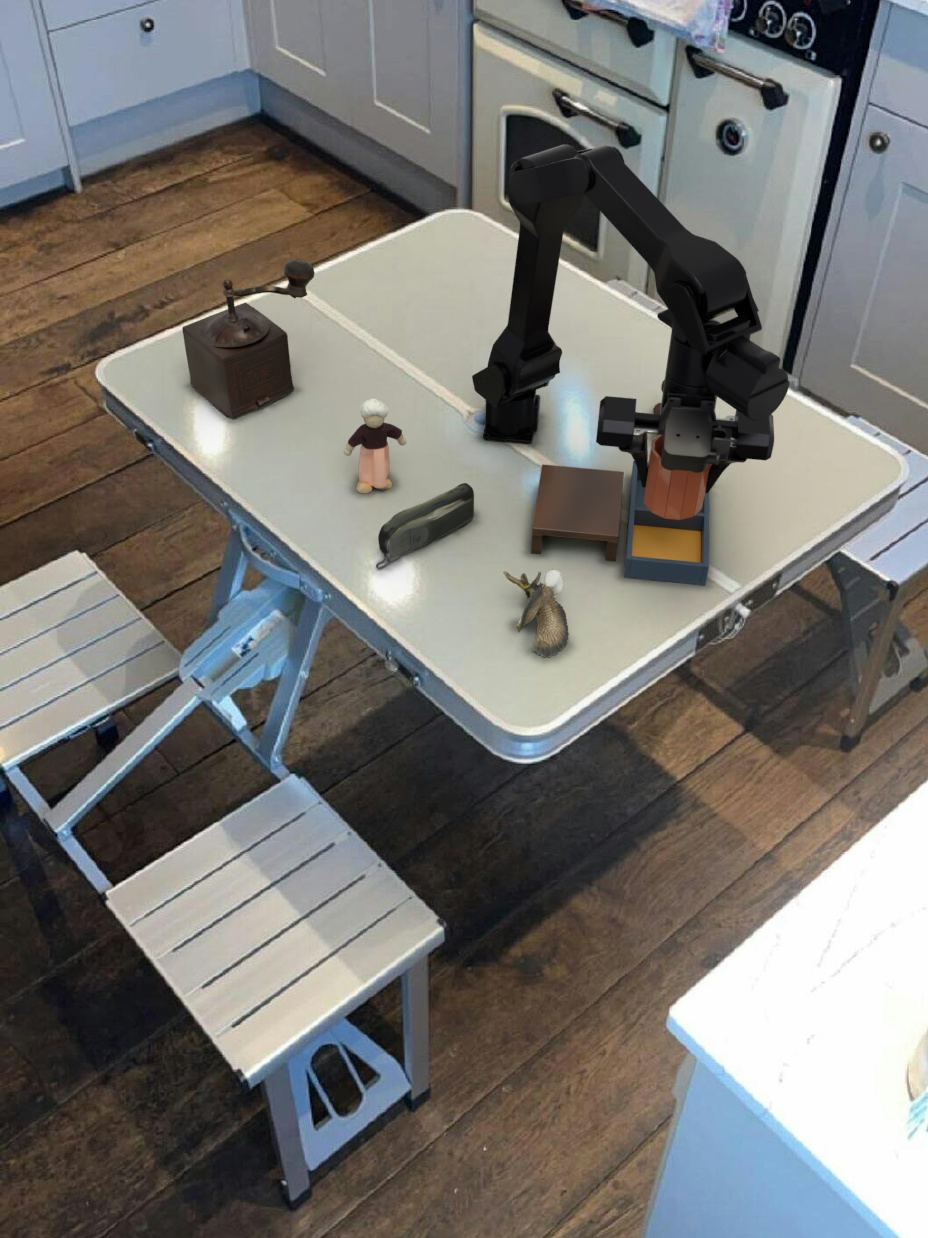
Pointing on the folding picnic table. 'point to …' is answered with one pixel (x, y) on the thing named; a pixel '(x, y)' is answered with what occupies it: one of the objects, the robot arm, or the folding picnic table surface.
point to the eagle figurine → (544, 612)
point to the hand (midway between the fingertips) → (674, 488)
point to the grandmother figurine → (374, 446)
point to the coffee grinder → (243, 349)
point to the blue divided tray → (665, 542)
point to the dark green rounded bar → (425, 522)
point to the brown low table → (578, 506)
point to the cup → (673, 487)
